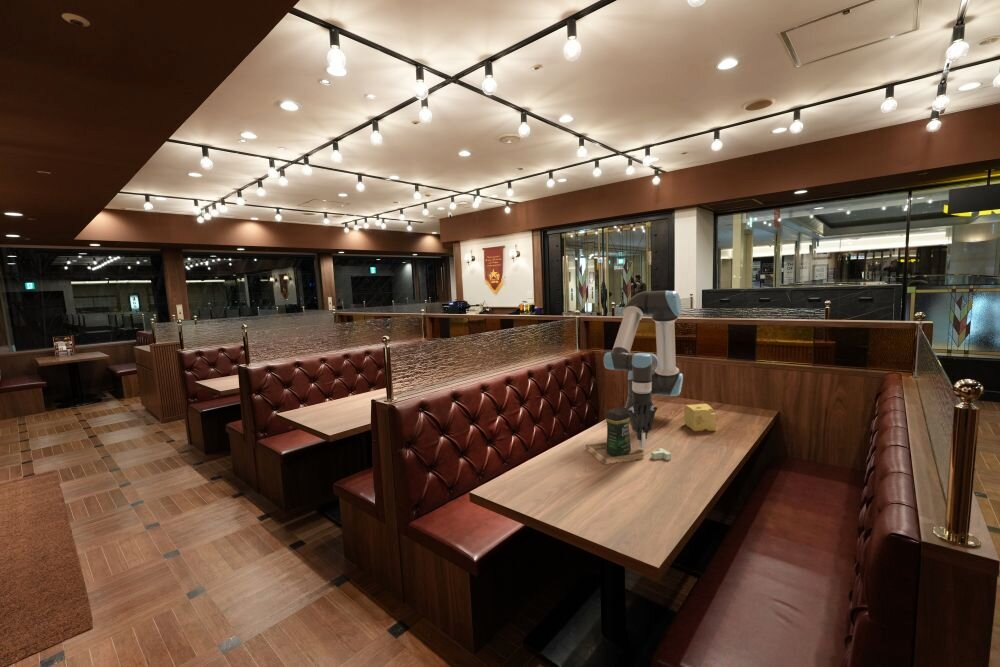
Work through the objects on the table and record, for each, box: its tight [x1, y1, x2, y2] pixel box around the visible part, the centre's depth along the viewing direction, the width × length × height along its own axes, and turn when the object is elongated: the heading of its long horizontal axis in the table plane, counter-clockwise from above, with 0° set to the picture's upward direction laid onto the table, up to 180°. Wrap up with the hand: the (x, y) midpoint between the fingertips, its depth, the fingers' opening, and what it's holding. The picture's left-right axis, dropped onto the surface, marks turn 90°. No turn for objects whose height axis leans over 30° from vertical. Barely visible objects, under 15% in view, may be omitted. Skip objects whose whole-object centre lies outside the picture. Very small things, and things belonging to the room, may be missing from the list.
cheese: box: [683, 403, 717, 432], centre depth 201 cm, size 10×11×10 cm
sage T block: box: [650, 447, 672, 461], centre depth 170 cm, size 6×6×2 cm
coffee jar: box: [605, 406, 632, 457], centre depth 175 cm, size 10×8×19 cm
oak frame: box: [585, 441, 644, 465], centre depth 175 cm, size 16×17×2 cm
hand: (642, 446), depth 178 cm, fingers closed
